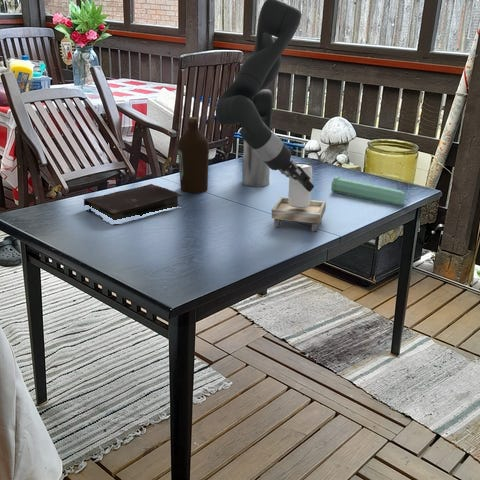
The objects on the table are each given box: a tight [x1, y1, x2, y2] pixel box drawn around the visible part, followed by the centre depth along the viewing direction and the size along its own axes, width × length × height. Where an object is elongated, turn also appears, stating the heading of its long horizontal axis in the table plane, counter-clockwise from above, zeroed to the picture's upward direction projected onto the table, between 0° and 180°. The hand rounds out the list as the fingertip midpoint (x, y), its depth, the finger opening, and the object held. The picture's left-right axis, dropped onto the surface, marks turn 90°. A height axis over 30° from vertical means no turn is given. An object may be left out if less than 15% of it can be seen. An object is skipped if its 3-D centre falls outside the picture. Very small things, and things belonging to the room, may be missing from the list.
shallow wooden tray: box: [271, 196, 327, 232], centre depth 176 cm, size 14×12×6 cm
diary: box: [83, 183, 182, 220], centre depth 186 cm, size 19×25×5 cm
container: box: [330, 175, 406, 206], centre depth 200 cm, size 6×6×25 cm
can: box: [287, 162, 313, 208], centre depth 173 cm, size 6×6×12 cm
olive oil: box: [177, 116, 210, 194], centre depth 202 cm, size 11×11×25 cm
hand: (304, 185), depth 173 cm, fingers closed on can, 6 cm apart
